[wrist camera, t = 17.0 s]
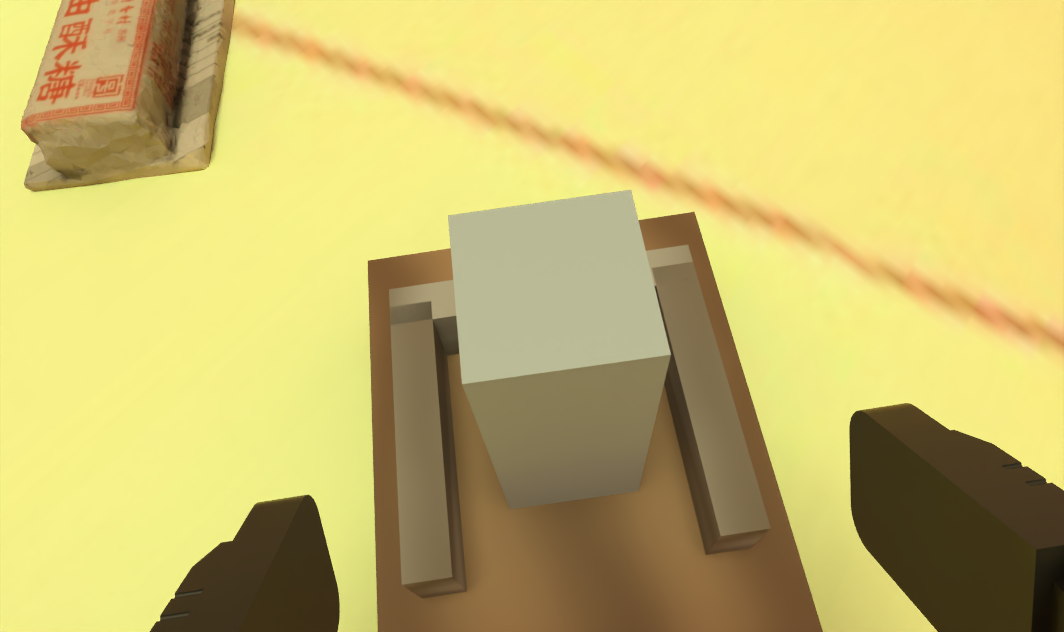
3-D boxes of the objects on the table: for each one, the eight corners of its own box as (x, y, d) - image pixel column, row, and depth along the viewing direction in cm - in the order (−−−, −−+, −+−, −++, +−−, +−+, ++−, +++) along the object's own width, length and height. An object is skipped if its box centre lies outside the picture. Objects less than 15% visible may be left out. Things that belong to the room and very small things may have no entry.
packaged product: (171, 111, 35) (-30, 139, 35) (217, 175, 39) (37, 200, 39) (209, -106, 44) (48, -83, 44) (243, -34, 48) (96, -13, 48)
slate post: (510, 509, 25) (461, 383, 15) (497, 390, 27) (447, 215, 17) (638, 491, 25) (671, 354, 15) (615, 373, 27) (630, 189, 17)
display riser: (416, 890, 23) (355, 956, 17) (390, 307, 34) (347, 218, 28) (842, 824, 23) (934, 866, 17) (683, 263, 34) (704, 165, 28)
